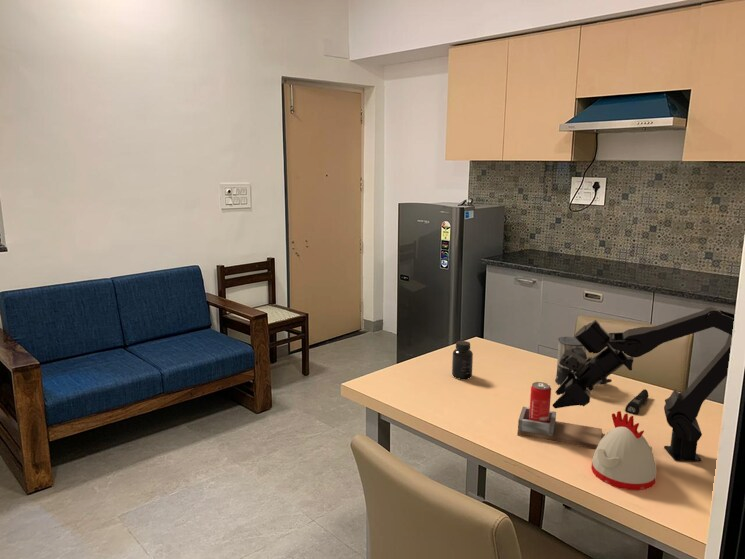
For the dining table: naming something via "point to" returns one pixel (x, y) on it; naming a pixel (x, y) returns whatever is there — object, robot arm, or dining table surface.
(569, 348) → the milk frother
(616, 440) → the kitchen timer
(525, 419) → the socket board
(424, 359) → the dining table surface
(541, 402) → the beverage can
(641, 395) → the electric trimmer
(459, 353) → the supplement bottle
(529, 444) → the dining table surface
